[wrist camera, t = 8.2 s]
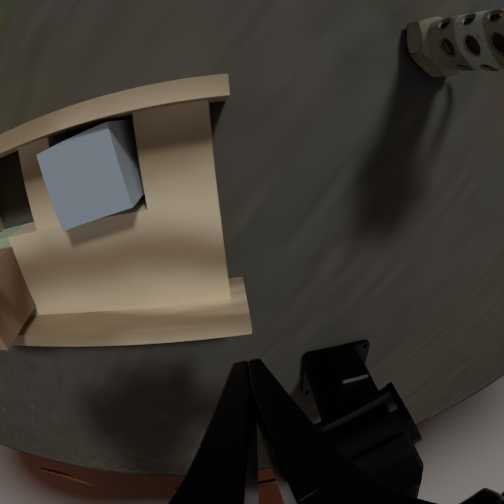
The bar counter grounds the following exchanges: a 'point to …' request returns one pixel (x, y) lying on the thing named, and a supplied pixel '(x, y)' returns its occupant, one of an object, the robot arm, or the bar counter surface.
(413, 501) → the robot arm
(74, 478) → the bar counter surface
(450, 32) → the grenade model
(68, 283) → the box
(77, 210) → the trapped block
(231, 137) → the bar counter surface
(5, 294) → the walnut block
